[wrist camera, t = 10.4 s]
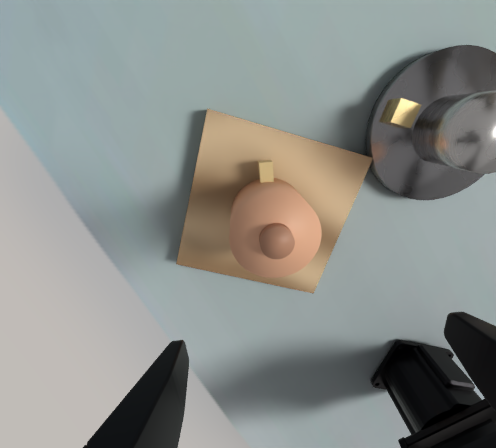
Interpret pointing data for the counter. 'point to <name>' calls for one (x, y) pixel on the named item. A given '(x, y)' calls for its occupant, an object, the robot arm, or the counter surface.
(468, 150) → the metal flange
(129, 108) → the counter surface
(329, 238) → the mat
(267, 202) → the cap
